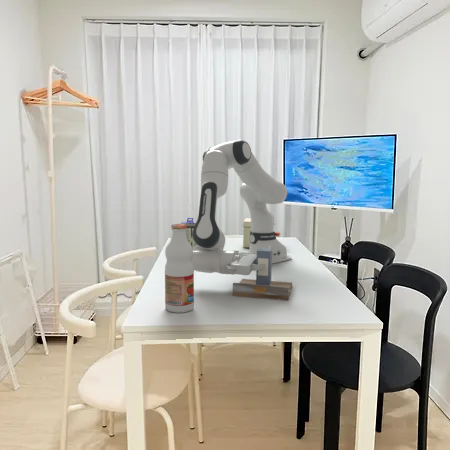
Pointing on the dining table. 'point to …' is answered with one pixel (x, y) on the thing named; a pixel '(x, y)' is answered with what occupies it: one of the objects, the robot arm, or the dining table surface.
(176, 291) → the fruit juice
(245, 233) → the gift box
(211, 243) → the robot arm
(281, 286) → the shelf board
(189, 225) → the coffee can
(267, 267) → the carton
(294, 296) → the dining table surface
